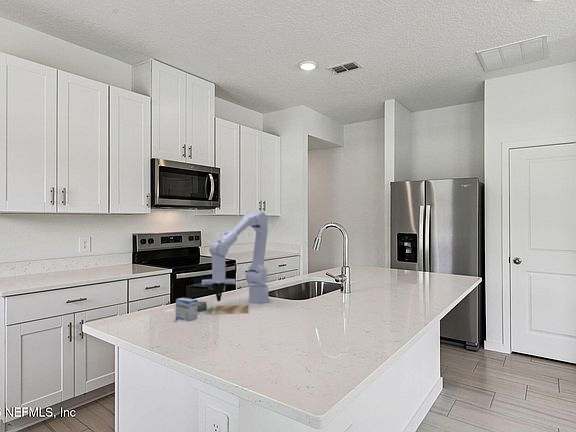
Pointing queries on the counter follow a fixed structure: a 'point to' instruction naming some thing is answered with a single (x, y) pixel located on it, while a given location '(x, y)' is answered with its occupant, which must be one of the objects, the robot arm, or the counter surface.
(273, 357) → the counter surface
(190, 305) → the medicine box
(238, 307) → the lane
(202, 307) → the puck
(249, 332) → the counter surface
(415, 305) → the counter surface
